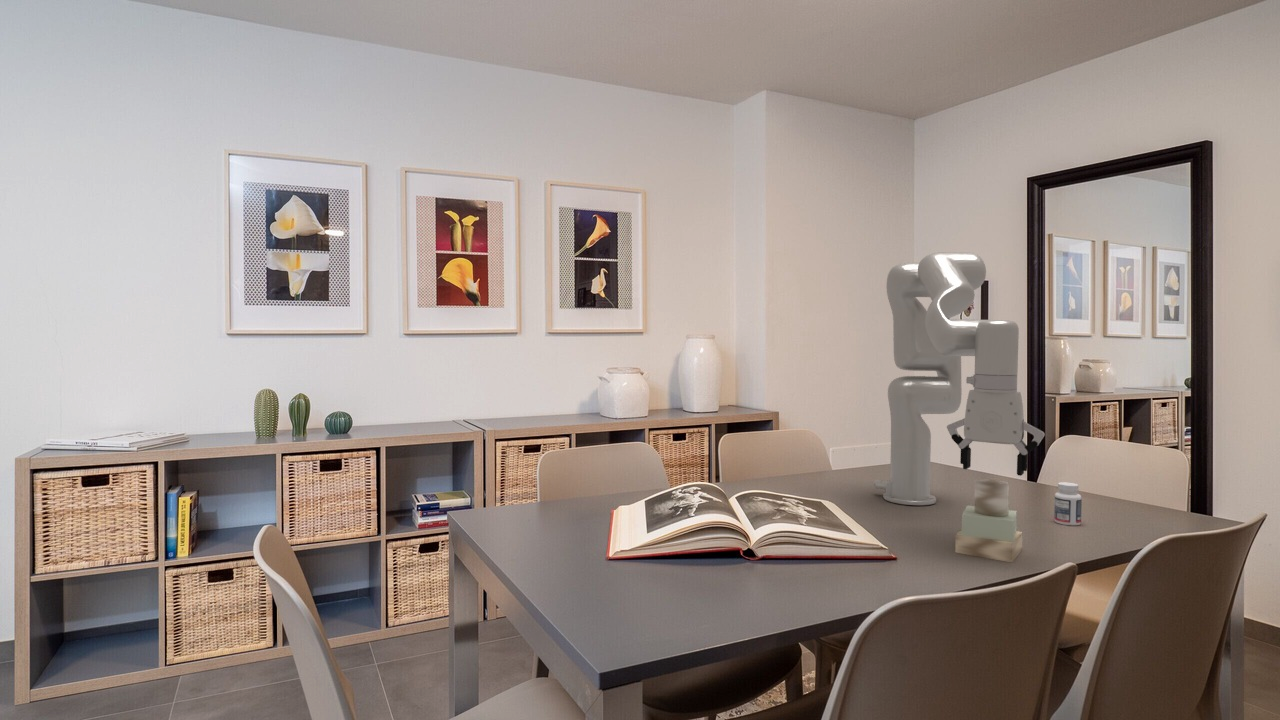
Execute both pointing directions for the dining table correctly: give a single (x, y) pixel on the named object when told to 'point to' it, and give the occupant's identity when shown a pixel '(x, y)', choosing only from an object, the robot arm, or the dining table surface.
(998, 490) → the marbled beige cylinder
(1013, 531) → the tower top block
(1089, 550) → the dining table surface
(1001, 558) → the tower base block
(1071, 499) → the pill bottle
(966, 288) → the robot arm
